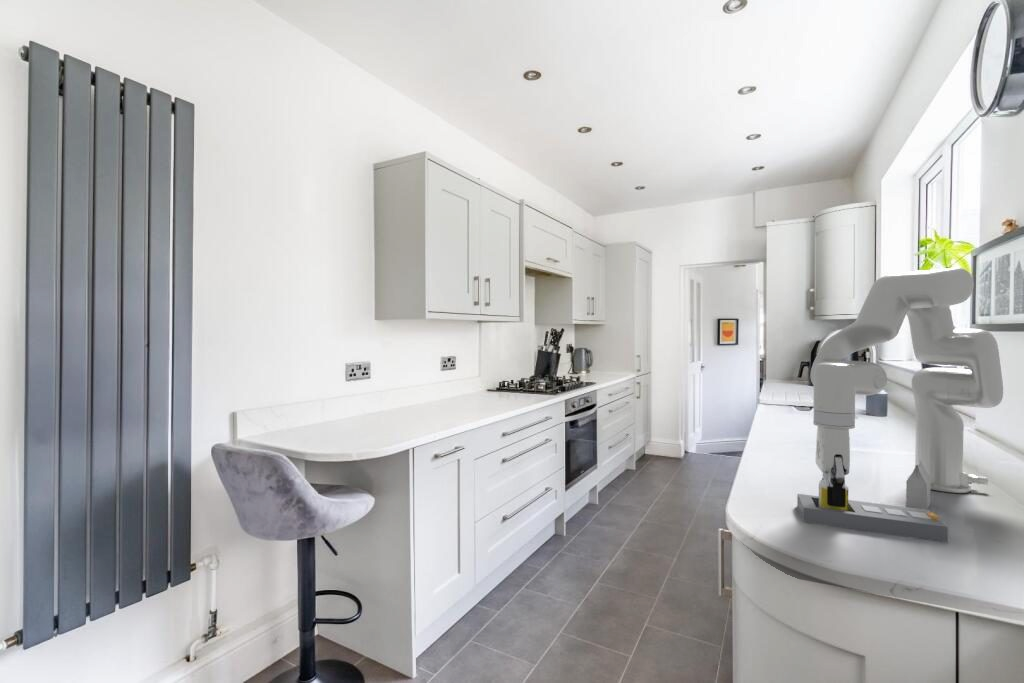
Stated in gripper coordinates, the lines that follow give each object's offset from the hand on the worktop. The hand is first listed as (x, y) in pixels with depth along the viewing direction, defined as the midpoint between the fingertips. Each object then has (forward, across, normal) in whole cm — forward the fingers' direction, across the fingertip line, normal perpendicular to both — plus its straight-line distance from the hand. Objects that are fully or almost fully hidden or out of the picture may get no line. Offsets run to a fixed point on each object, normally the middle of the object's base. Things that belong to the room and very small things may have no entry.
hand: (833, 500), depth 104 cm
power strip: (+4, 0, +6) cm, 7 cm away
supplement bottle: (+4, 0, 0) cm, 4 cm away
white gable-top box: (+4, -19, +20) cm, 28 cm away
